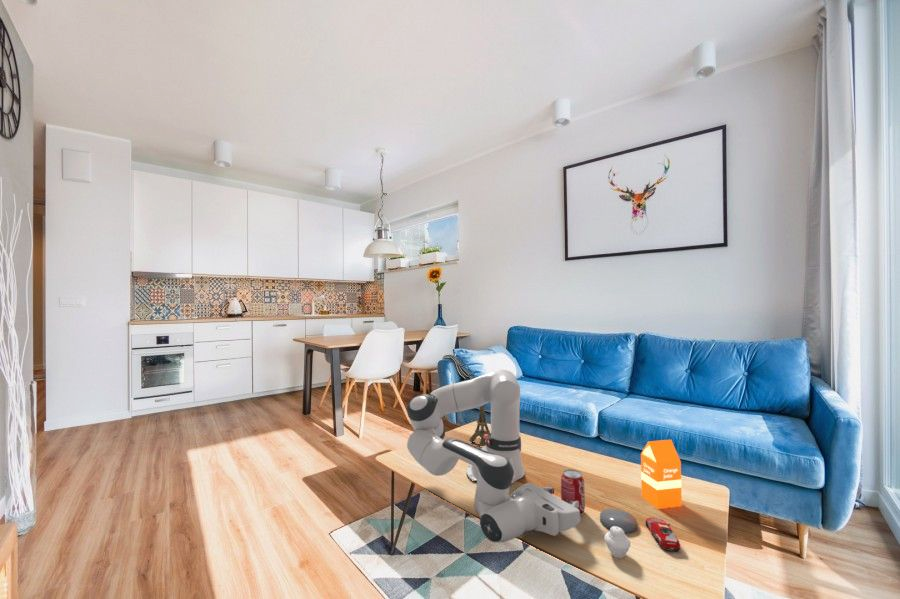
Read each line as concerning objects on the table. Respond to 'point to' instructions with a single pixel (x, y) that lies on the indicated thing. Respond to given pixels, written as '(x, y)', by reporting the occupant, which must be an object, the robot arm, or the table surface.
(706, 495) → the table surface
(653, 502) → the orange juice
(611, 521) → the grey rounded flat dome
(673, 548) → the race car
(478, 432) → the eiffel tower
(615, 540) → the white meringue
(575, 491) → the soda can
